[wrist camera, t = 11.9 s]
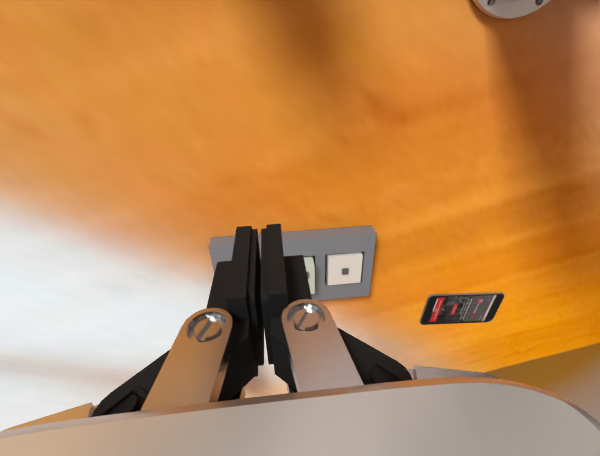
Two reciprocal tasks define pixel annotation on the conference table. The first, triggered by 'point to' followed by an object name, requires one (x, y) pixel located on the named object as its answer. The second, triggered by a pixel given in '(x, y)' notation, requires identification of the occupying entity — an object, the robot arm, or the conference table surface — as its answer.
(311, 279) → the tile two
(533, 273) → the conference table surface
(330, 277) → the tile one
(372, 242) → the console
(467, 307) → the smartphone
